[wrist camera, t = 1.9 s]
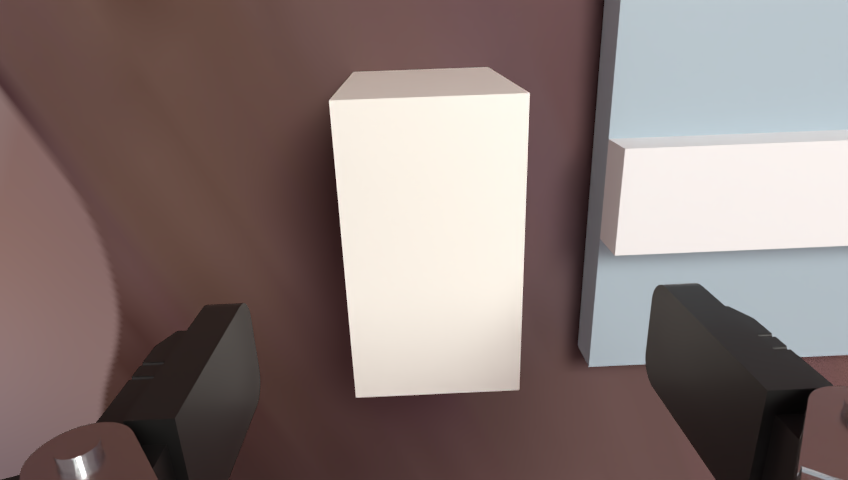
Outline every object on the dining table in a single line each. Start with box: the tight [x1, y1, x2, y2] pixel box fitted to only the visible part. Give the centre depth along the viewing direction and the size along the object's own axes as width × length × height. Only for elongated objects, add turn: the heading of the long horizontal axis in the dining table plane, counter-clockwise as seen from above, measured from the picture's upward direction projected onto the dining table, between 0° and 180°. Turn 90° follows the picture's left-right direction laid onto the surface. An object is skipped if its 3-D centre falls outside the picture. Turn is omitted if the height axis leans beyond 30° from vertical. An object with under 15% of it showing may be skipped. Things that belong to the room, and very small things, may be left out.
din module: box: [329, 67, 530, 398], centre depth 17 cm, size 8×4×7 cm, turn 2°
